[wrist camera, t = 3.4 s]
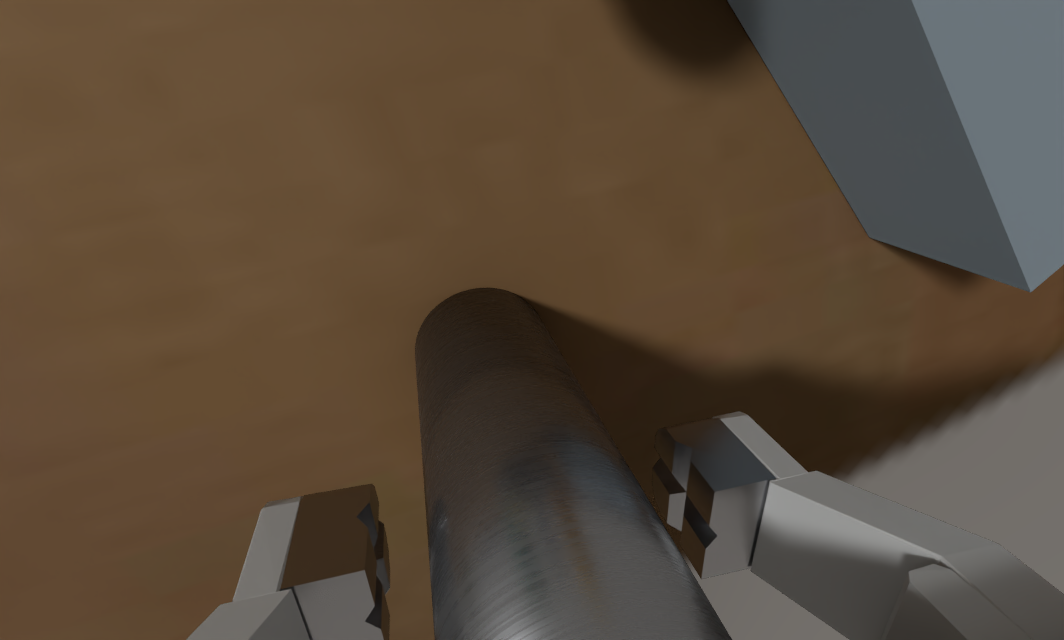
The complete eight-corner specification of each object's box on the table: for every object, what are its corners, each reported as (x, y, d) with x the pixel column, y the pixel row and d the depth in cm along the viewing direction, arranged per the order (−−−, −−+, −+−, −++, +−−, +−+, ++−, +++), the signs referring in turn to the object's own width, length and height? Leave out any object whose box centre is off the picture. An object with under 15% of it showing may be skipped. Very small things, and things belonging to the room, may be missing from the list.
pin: (485, 424, 13) (653, 1077, 5) (386, 359, 12) (360, 1131, 3) (570, 338, 13) (938, 891, 4) (478, 260, 12) (743, 853, 3)
